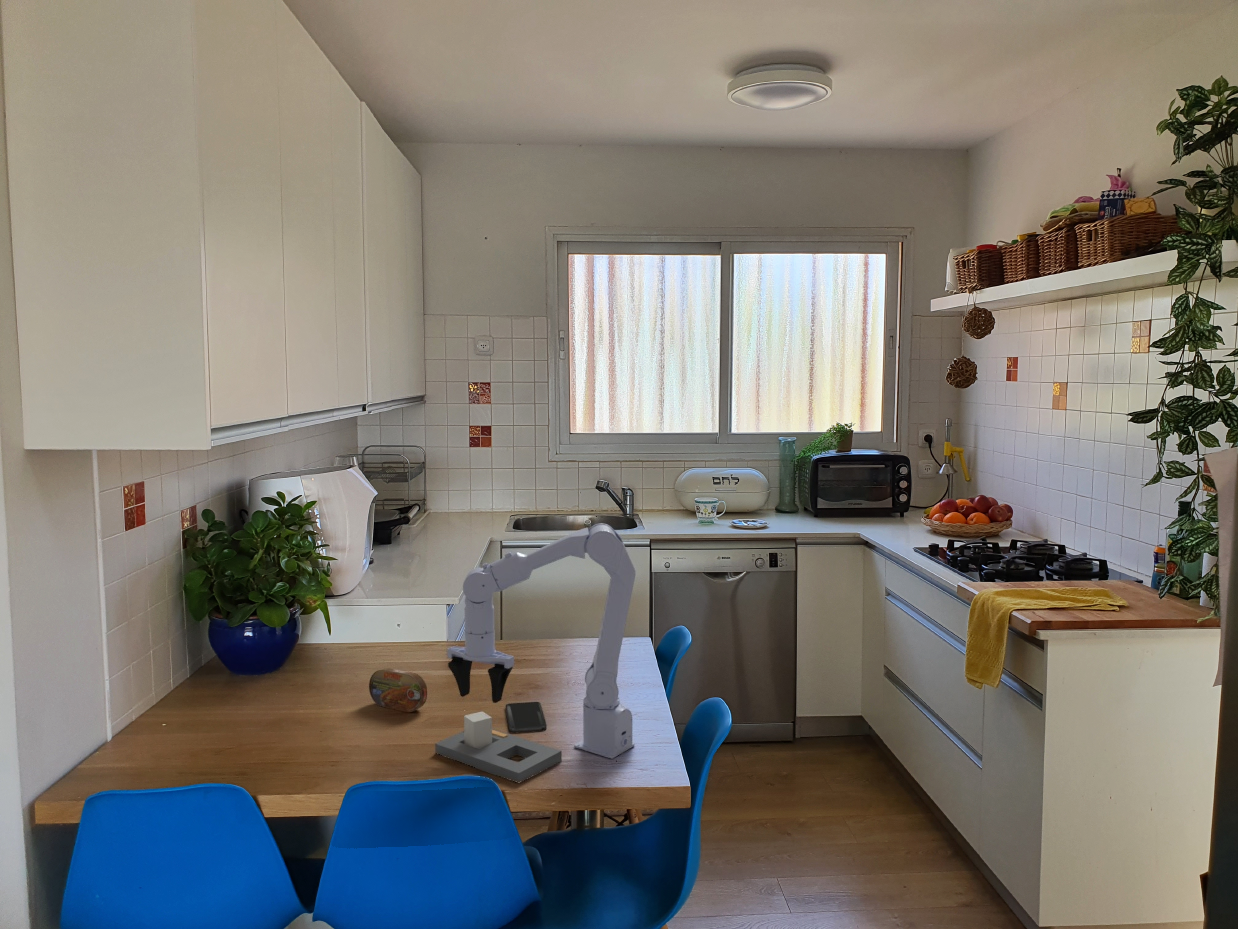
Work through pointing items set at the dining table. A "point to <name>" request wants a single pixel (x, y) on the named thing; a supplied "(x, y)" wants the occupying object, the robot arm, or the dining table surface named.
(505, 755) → the socket plate
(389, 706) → the tin
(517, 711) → the phone
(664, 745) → the dining table surface
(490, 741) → the plug
